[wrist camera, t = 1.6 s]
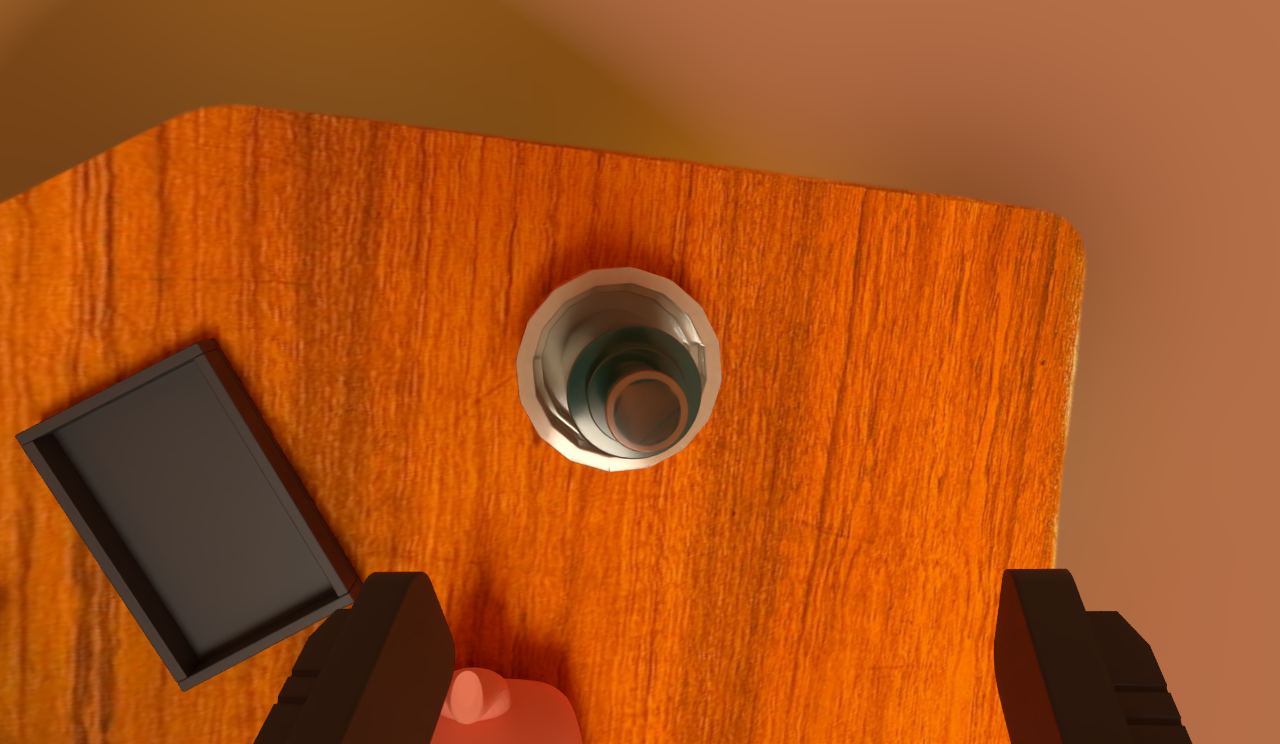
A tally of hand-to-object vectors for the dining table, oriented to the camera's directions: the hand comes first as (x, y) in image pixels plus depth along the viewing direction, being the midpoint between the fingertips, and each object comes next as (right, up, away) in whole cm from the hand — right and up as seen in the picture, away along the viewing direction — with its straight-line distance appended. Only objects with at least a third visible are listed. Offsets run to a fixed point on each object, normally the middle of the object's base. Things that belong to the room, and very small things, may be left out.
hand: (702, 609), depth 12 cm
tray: (-24, -4, +34) cm, 41 cm away
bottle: (-2, +4, +35) cm, 35 cm away
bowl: (-2, +4, +35) cm, 35 cm away
